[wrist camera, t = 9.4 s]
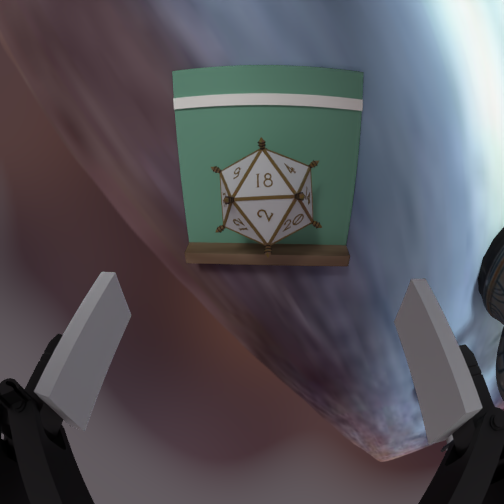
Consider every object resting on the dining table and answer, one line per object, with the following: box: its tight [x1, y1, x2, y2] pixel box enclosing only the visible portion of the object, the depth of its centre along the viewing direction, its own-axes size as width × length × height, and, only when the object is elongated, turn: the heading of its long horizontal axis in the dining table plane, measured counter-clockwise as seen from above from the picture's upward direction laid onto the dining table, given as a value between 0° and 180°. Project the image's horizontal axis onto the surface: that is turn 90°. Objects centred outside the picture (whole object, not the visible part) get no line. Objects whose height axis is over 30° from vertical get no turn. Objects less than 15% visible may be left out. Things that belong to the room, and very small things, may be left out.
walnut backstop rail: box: [185, 242, 350, 266], centre depth 29 cm, size 1×16×2 cm, turn 91°
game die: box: [211, 137, 322, 257], centre depth 23 cm, size 9×8×10 cm
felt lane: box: [172, 65, 363, 245], centre depth 25 cm, size 17×16×1 cm
